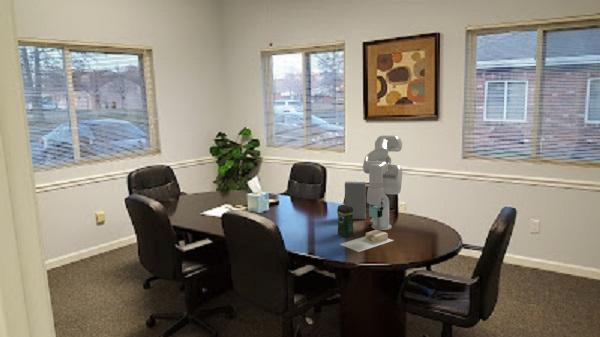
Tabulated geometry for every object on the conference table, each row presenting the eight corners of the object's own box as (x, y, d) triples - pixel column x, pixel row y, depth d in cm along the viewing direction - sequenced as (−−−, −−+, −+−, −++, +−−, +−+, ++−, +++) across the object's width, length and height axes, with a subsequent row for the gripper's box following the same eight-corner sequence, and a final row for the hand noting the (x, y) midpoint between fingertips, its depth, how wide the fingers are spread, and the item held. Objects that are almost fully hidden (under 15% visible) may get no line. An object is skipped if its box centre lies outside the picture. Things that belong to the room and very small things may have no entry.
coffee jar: (355, 235, 273) (355, 206, 270) (346, 238, 269) (345, 208, 265) (345, 231, 281) (344, 202, 278) (335, 234, 276) (334, 205, 273)
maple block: (365, 239, 265) (365, 232, 265) (376, 236, 271) (376, 229, 270) (376, 243, 258) (376, 236, 257) (387, 239, 263) (387, 233, 263)
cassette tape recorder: (365, 217, 311) (365, 181, 306) (365, 219, 305) (365, 183, 300) (345, 216, 313) (345, 181, 309) (344, 219, 307) (344, 183, 303)
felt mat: (339, 244, 259) (339, 244, 259) (373, 234, 275) (373, 233, 275) (358, 252, 246) (358, 251, 246) (393, 241, 262) (393, 240, 262)
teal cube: (369, 216, 263) (369, 207, 262) (375, 214, 266) (375, 205, 265) (376, 218, 258) (375, 209, 257) (382, 216, 261) (382, 207, 260)
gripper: (360, 183, 263) (360, 213, 267) (382, 189, 249) (382, 220, 253) (370, 181, 267) (370, 211, 271) (391, 186, 253) (391, 217, 257)
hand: (375, 215), depth 262 cm, fingers closed on teal cube, 5 cm apart
